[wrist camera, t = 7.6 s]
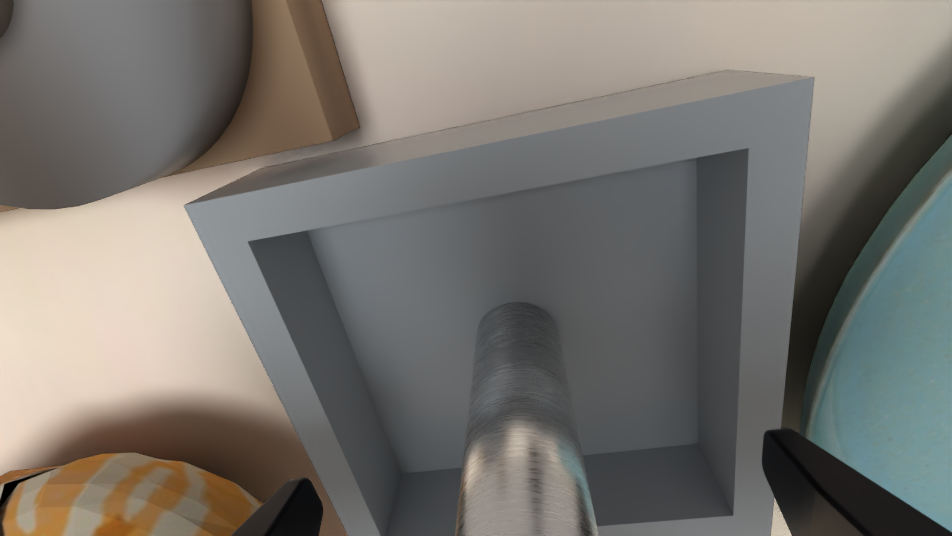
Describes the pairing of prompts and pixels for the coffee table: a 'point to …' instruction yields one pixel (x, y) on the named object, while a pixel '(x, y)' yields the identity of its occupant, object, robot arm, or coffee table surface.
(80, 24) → the pulley block
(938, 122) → the coffee table surface
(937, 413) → the teal round plate
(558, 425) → the lock pin
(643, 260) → the tray
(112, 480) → the nautilus
